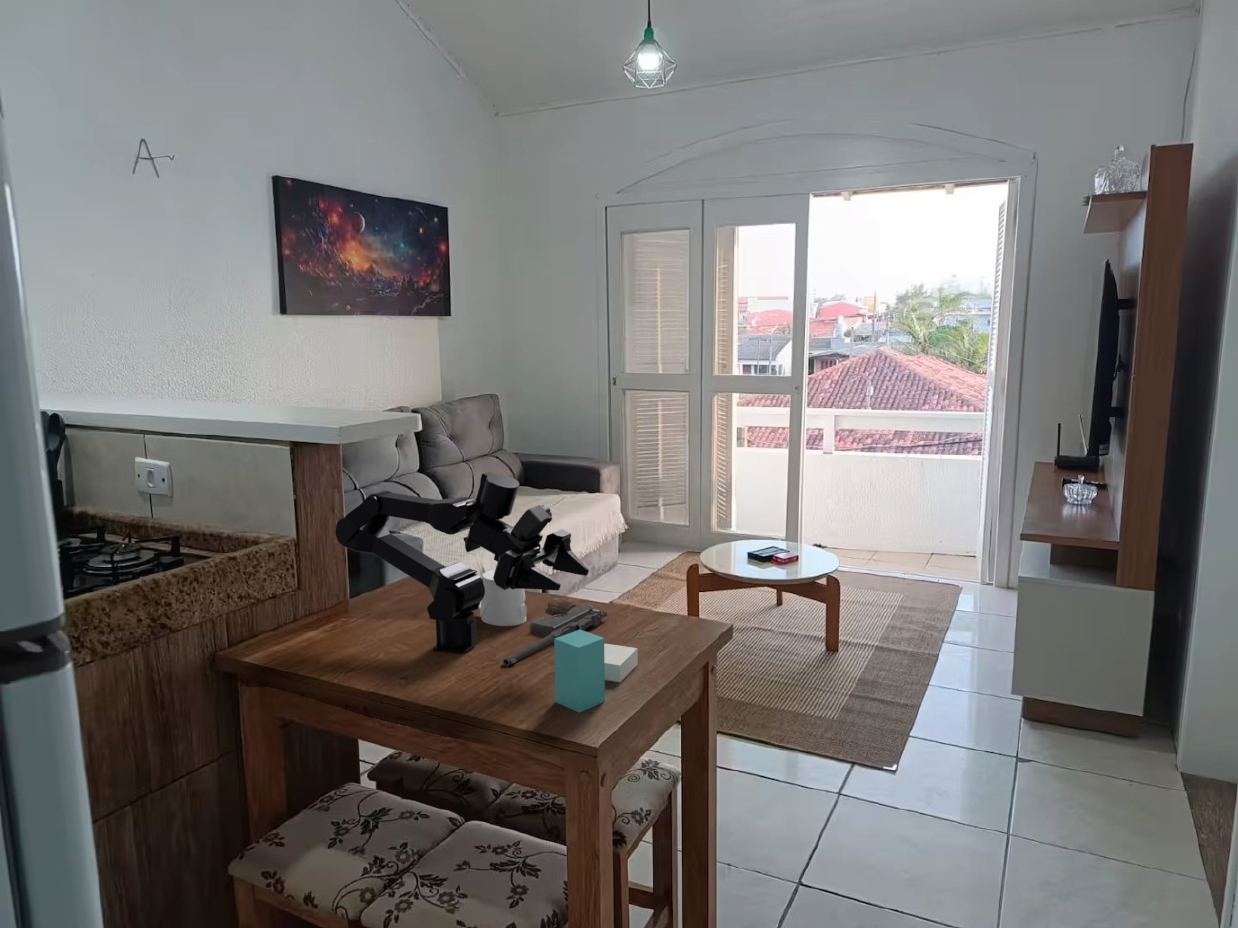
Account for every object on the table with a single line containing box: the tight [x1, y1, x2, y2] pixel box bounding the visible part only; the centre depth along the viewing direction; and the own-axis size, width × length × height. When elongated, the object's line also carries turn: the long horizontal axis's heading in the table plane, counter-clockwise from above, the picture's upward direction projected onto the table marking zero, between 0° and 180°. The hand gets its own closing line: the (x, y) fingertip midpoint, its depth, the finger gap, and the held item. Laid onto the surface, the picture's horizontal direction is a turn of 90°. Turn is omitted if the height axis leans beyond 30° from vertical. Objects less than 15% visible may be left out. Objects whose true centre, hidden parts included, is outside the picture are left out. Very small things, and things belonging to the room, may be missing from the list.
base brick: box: [604, 642, 639, 683], centre depth 150 cm, size 8×8×3 cm
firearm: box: [502, 597, 608, 667], centre depth 168 cm, size 3×30×15 cm
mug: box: [477, 569, 528, 627], centre depth 175 cm, size 12×9×8 cm
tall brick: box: [554, 630, 606, 713], centre depth 137 cm, size 6×6×10 cm
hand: (574, 580), depth 147 cm, fingers open, 9 cm apart
